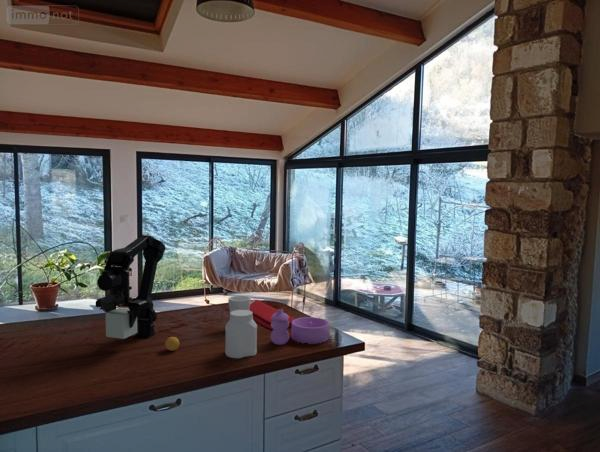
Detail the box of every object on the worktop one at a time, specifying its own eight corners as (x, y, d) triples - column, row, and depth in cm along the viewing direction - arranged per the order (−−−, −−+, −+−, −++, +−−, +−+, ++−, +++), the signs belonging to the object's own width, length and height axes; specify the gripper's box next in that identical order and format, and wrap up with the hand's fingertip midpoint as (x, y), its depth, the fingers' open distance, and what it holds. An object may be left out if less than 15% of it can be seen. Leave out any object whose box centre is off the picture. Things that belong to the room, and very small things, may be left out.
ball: (162, 351, 166) (162, 338, 166) (170, 347, 171) (170, 334, 171) (174, 353, 165) (174, 339, 164) (182, 348, 170) (181, 335, 169)
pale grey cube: (105, 336, 165) (105, 312, 165) (120, 330, 173) (119, 307, 172) (123, 338, 163) (123, 314, 162) (137, 332, 170) (137, 309, 170)
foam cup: (246, 332, 190) (246, 301, 189) (225, 330, 192) (225, 300, 191) (253, 325, 200) (253, 296, 199) (233, 323, 202) (233, 295, 200)
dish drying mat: (272, 332, 193) (272, 323, 192) (231, 309, 227) (231, 302, 226) (302, 326, 201) (303, 318, 201) (259, 305, 235) (259, 298, 235)
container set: (317, 330, 195) (317, 299, 194) (336, 340, 181) (336, 308, 180) (263, 338, 183) (263, 306, 182) (279, 350, 170) (279, 316, 169)
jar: (231, 359, 159) (231, 318, 158) (221, 351, 168) (221, 311, 166) (261, 354, 165) (261, 314, 164) (250, 346, 173) (250, 307, 172)
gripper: (83, 287, 161) (84, 330, 163) (128, 291, 156) (129, 335, 157) (105, 281, 172) (106, 321, 173) (148, 285, 167) (148, 326, 168)
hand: (121, 326), depth 168 cm, fingers closed on pale grey cube, 8 cm apart
